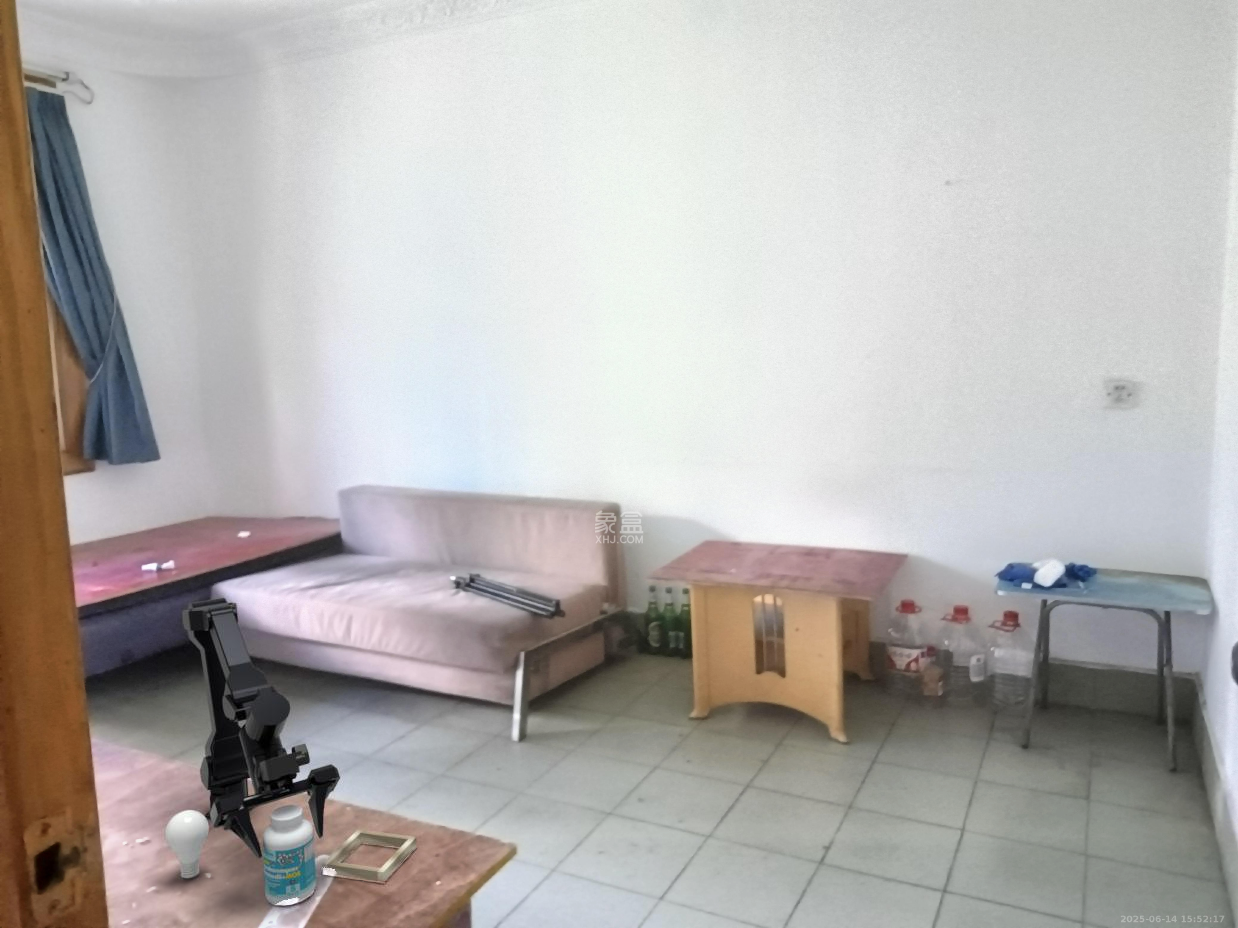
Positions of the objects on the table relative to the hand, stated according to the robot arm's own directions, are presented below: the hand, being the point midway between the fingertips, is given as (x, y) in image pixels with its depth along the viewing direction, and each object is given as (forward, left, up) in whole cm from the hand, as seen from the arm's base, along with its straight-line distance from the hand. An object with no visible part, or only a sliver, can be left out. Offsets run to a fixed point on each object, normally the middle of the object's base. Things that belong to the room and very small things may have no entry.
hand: (291, 846), depth 140 cm
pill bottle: (-1, -1, -9) cm, 9 cm away
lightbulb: (-1, -20, -9) cm, 22 cm away
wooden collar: (-12, +6, -8) cm, 16 cm away
